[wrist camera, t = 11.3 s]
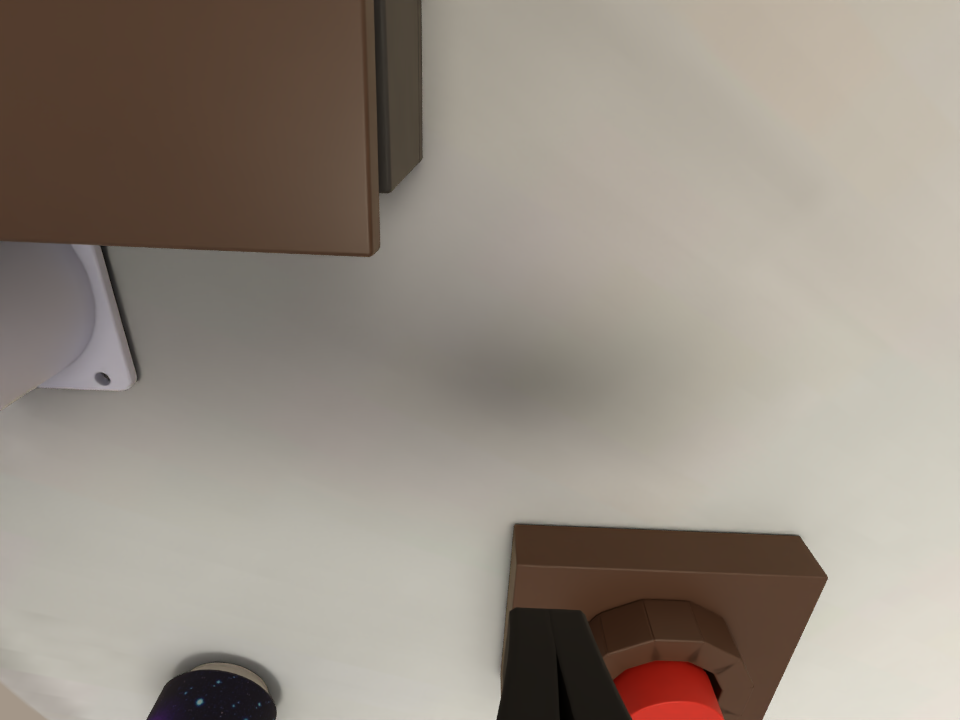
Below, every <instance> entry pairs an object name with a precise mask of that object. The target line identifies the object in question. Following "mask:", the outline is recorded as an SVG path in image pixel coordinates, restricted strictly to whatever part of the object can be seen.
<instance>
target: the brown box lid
mask: <svg viewBox="0 0 960 720" xmlns="http://www.w3.org/2000/svg"><path fill="white" fill-rule="evenodd" d="M0 241H9V242H32V243H55V244H78V245H101V246H125V247H148V248H171V249H194V250H218V251H241V252H264V253H287V254H310V255H334V256H357V257H370V256H373V255H374V254H375V253H376V252H377V251H378V250H379V248H380V217H379V179H378V142H377V105H376V67H375V30H374V0H0Z"/></svg>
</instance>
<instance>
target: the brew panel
mask: <svg viewBox="0 0 960 720" xmlns="http://www.w3.org/2000/svg"><path fill="white" fill-rule="evenodd" d="M827 579H828V577H827V575H826V574H825V572H824V571H823V569H822V568H821V566H820V565H819V563H818V562H817V560H816V559H815V558H814V556H813V555H812V553H811V552H810V550H809V549H808V547H807V546H806V545H805V543H804V542H803V540H802V539H801V537H800V536H789V535H764V534H740V533H716V532H691V531H667V530H642V529H618V528H593V527H569V526H545V525H520V524H515V525H514V531H513V542H512V553H511V564H510V575H509V586H508V597H507V608H506V619H505V630H504V642H503V653H502V664H501V696H502V686H503V665H504V655H505V646H506V637H507V628H508V619H509V611H511V610H512V609H514V608H515V607H521V608H544V609H567V610H581V611H582V612H583V613H584V614H585V615H586V618H587V621H588V623H589V626H590V628H591V631H592V633H593V636H594V638H595V641H596V643H597V646H598V648H599V650H600V653H601V655H602V657H603V660H604V662H605V664H606V666H607V668H608V671H609V673H610V675H611V677H612V679H613V680H614V679H615V678H616V677H617V676H619V675H620V674H621V673H622V672H623V671H625V670H626V669H629V668H632V667H636V666H639V665H642V664H646V663H649V662H653V661H656V660H657V661H682V662H690V663H692V664H694V665H697V666H699V667H701V668H702V669H703V670H704V671H705V672H706V674H707V675H708V677H709V680H710V682H711V685H712V688H713V690H714V693H715V696H716V698H717V701H718V704H719V706H720V709H721V712H722V715H723V717H724V720H762V719H763V717H764V715H765V713H766V710H767V708H768V706H769V704H770V702H771V700H772V698H773V695H774V693H775V691H776V689H777V687H778V685H779V682H780V680H781V678H782V676H783V674H784V672H785V670H786V667H787V665H788V663H789V661H790V659H791V657H792V655H793V652H794V650H795V648H796V646H797V644H798V642H799V639H800V637H801V635H802V633H803V631H804V629H805V627H806V624H807V622H808V620H809V618H810V616H811V614H812V611H813V609H814V607H815V605H816V603H817V601H818V599H819V596H820V594H821V592H822V590H823V588H824V586H825V583H826V581H827Z"/></svg>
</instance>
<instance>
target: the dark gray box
mask: <svg viewBox="0 0 960 720" xmlns="http://www.w3.org/2000/svg"><path fill="white" fill-rule="evenodd" d="M374 30H375V67H376V105H377V142H378V179H379V193H390V192H392V191H393V190H394V188H395V187H396V186H397V185H398V184H399V183H400V182H401V181H402V180H403V179H404V178H405V177H406V176H407V175H408V173H409V172H410V171H411V170H412V169H413V168H414V167H415V166H416V165H417V164H418V163H419V162H420V161H421V160H422V158H423V155H422V26H421V0H374Z"/></svg>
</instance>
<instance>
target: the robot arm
mask: <svg viewBox="0 0 960 720" xmlns="http://www.w3.org/2000/svg"><path fill="white" fill-rule="evenodd" d="M102 373H105V374H106V375H107V376H108V377H109V378H110V380H109V379H107V378H105V377H104V376H103V374H102ZM136 381H137V375H136V372H135V368H134V364H133V361H132V357H131V354H130V350H129V347H128V343H127V339H126V336H125V332H124V329H123V325H122V322H121V318H120V315H119V311H118V307H117V304H116V300H115V297H114V293H113V290H112V286H111V282H110V279H109V275H108V272H107V268H106V265H105V261H104V258H103V254H102V250H101V247H100V245H78V244H55V243H32V242H9V241H0V411H1V410H3V409H4V408H6V407H7V406H9V405H10V404H12V403H13V402H15V401H16V400H18V399H19V398H21V397H22V396H24V395H25V394H27V393H28V392H30V391H31V390H33V389H34V388H57V389H81V390H105V391H126V390H128V389H129V388H131V387H132V386H133V385H134V384H135V383H136ZM497 720H632V718H631V716H630V714H629V712H628V710H627V708H626V706H625V704H624V702H623V700H622V698H621V696H620V694H619V692H618V690H617V688H616V686H615V684H614V681H613V679H612V677H611V675H610V673H609V671H608V668H607V666H606V664H605V662H604V660H603V657H602V655H601V653H600V650H599V648H598V646H597V643H596V641H595V638H594V636H593V633H592V631H591V628H590V626H589V623H588V621H587V618H586V615H585V614H584V613H583V612H582V611H581V610H567V609H544V608H521V607H515V608H514V609H512V610H511V611H509V619H508V628H507V637H506V646H505V655H504V665H503V686H502V696H501V700H500V705H499V710H498V715H497Z"/></svg>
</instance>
